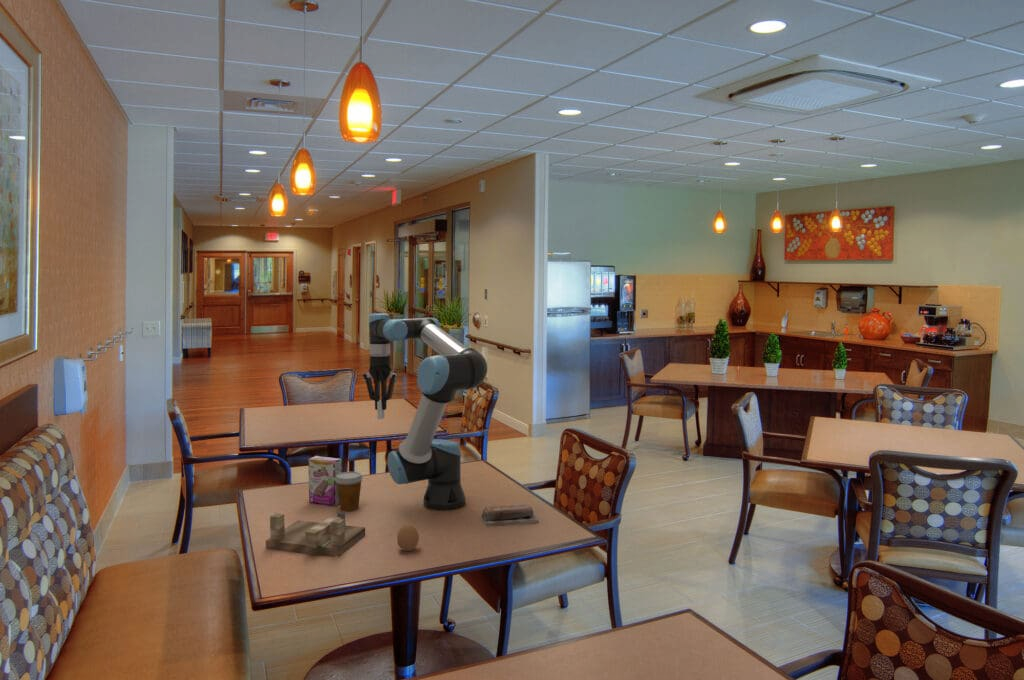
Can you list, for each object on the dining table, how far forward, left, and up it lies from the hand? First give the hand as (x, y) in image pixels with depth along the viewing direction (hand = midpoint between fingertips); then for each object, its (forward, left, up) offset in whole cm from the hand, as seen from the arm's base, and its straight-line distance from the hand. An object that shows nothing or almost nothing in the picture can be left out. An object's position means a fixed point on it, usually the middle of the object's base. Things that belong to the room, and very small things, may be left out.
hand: (380, 418), depth 263 cm
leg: (-5, +51, -26) cm, 58 cm away
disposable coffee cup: (+5, +17, -29) cm, 34 cm away
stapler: (-53, +13, -30) cm, 62 cm away
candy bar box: (+16, +14, -29) cm, 36 cm away
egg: (-30, +47, -29) cm, 63 cm away
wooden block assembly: (0, +48, -29) cm, 56 cm away
